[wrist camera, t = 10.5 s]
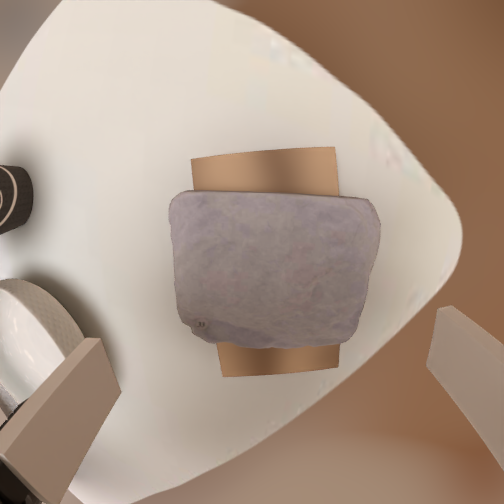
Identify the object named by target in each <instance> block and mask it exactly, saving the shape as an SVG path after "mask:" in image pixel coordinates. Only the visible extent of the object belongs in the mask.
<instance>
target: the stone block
mask: <svg viewBox="0 0 504 504" xmlns="http://www.w3.org/2000/svg"><path fill="white" fill-rule="evenodd" d="M169 222H170V225H171V239H172V243H173V255H174V274H175V283H174V285H175V291H176V300H177V310H178V313H179V316H180V318H181V320H182V322H183V323H184V324H186V325H188V326H190V327H191V329H192V333H193V334H194V335H196V336H198V337H200V338H202V339H203V340H205V341H206V342H209V343H221V342H228V343H233V344H235V345H237V346H239V347H246V348H256V349H262V348H270V347H274V348H284V349H289V348H301V347H304V346H307V345H308V346H312V347H318V346H326V345H334V344H341V343H343V342H346V341H347V340H349V339H350V337H352V335H353V334H354V332H355V331H356V329H357V326H358V322H359V317H360V315H361V312H362V309H363V306H364V303H365V299H366V295H367V291H368V281H369V275H370V272H371V270H372V267H373V264H374V261H375V258H376V255H377V252H378V248H379V242H380V225H381V224H380V220H379V218H378V215H377V212H376V210H375V208H374V206H373V204H372V203H370V202H369V200H368V199H362V198H356V197H344V196H332V195H315V194H301V193H280V192H254V191H212V190H188V191H185V192H181V193H180V194H178V195H177V196H176V197H174V198H173V199H172V201H171V203H170V206H169Z"/></svg>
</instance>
